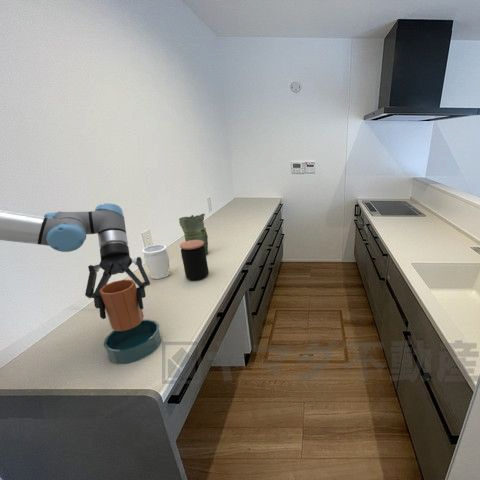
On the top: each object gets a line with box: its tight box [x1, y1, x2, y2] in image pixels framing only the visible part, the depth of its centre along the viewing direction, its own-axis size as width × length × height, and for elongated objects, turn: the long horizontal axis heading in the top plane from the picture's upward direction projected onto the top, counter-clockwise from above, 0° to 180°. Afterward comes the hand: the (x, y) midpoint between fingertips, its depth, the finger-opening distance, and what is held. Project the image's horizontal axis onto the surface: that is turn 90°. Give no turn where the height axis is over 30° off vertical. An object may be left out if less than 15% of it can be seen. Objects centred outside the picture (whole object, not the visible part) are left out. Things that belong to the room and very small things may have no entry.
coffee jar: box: [179, 240, 209, 282], centre depth 131 cm, size 11×11×18 cm
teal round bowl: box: [102, 318, 163, 365], centre depth 87 cm, size 15×15×6 cm
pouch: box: [178, 213, 209, 255], centre depth 154 cm, size 11×12×25 cm
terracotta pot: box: [99, 279, 145, 331], centre depth 82 cm, size 8×9×13 cm
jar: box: [141, 244, 171, 280], centre depth 131 cm, size 11×10×15 cm
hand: (123, 312), depth 80 cm, fingers closed on terracotta pot, 9 cm apart
